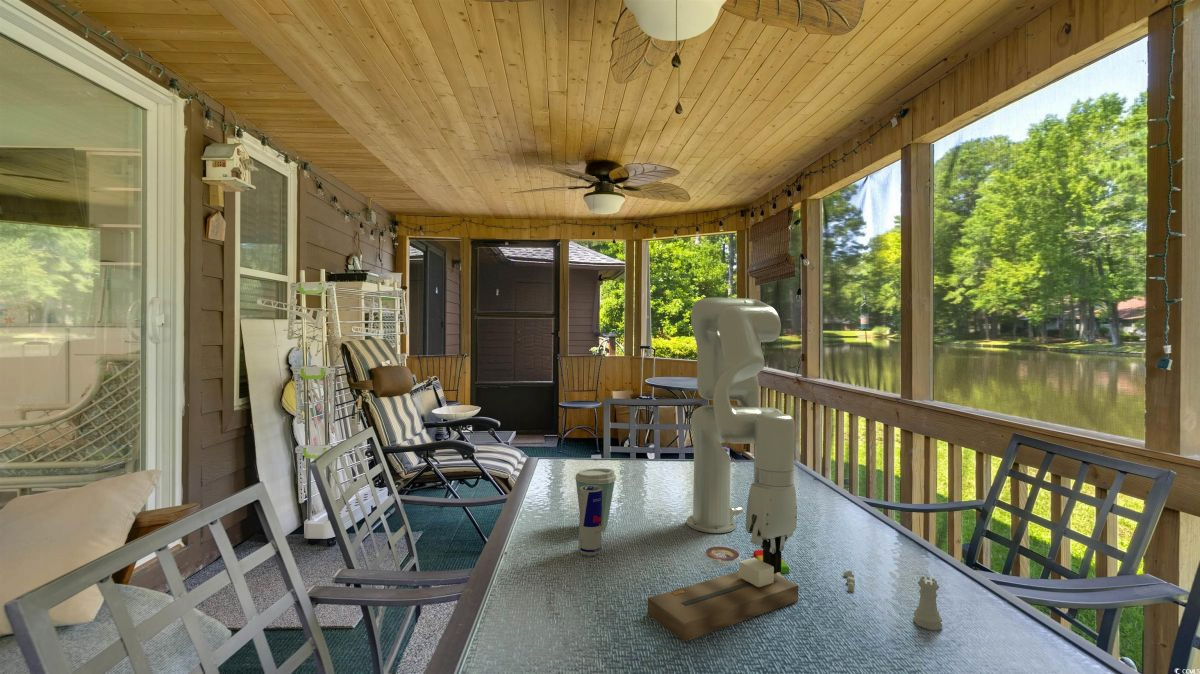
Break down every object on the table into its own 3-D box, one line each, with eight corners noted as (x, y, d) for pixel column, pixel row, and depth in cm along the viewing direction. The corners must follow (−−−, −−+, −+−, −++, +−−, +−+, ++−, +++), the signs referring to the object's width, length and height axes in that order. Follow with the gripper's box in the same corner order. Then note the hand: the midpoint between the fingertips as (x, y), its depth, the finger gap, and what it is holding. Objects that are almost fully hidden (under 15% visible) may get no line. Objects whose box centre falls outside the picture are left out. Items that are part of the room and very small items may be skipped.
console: (757, 580, 113) (758, 565, 113) (798, 601, 104) (798, 584, 104) (647, 614, 98) (647, 597, 98) (683, 641, 90) (684, 623, 90)
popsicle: (776, 557, 126) (776, 549, 126) (798, 588, 111) (798, 579, 111) (751, 557, 126) (752, 549, 126) (771, 587, 111) (771, 578, 111)
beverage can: (598, 557, 123) (599, 491, 122) (576, 555, 124) (577, 489, 123) (603, 549, 127) (604, 484, 127) (581, 547, 129) (582, 483, 128)
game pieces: (843, 576, 116) (843, 567, 116) (854, 578, 115) (854, 568, 115) (844, 592, 109) (844, 582, 109) (856, 594, 108) (856, 584, 108)
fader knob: (753, 572, 108) (753, 557, 108) (773, 582, 104) (773, 566, 104) (738, 576, 106) (739, 561, 106) (758, 587, 102) (759, 571, 102)
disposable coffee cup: (567, 531, 138) (568, 472, 138) (584, 518, 148) (585, 463, 148) (606, 538, 134) (607, 477, 134) (621, 524, 144) (622, 467, 144)
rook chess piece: (907, 618, 98) (908, 574, 98) (930, 617, 99) (931, 573, 99) (924, 632, 94) (925, 585, 94) (948, 631, 94) (949, 584, 94)
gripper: (783, 468, 114) (782, 556, 115) (731, 477, 107) (730, 571, 107) (814, 476, 108) (812, 569, 108) (761, 486, 100) (760, 586, 100)
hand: (771, 570), depth 107 cm, fingers closed
